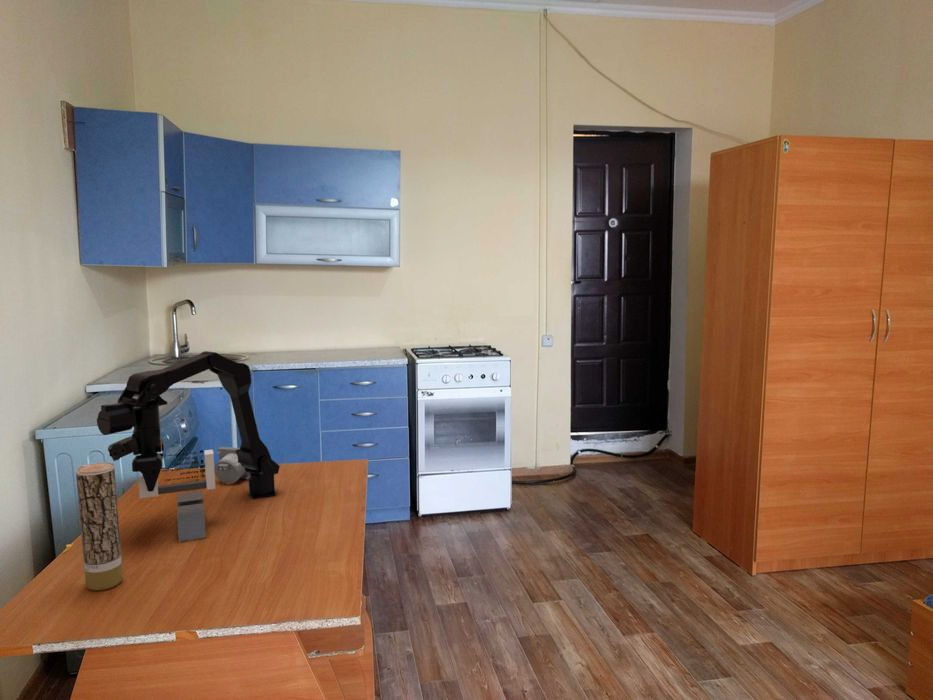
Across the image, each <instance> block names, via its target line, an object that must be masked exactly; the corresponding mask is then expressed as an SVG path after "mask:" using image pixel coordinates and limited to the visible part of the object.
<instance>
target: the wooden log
mask: <svg viewBox="0 0 933 700" xmlns="http://www.w3.org/2000/svg"><path fill="white" fill-rule="evenodd" d="M75 475H76V476H75V477H76V478H75V479H76V489H77V500H78V511H79V522H80V533H81V534H80V536H81V544H82V555H83V556H82V557H83V566H84V567H83V568H84V579H85V587H86V588H87V589H89V590H90V591H91V590H92V591H104V590H110V589H112V588H113V587H114V588H115V587H116V586H118V585H119V584H120V583H122V581H123V578H124V575H123V563H122V561H123V558H122V549H121V548H122V547H121V546H122V545H121V535H120V525H119V524H120V522H119V521H120V520H119V509H118V508H119V506H118V495H117V485H116V483H117V482H116V472H115V464H114V463H111V462H96V463H95V462H94V463H88V464H85V465H82V466H79V467H78V468H76V470H75Z"/></svg>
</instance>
